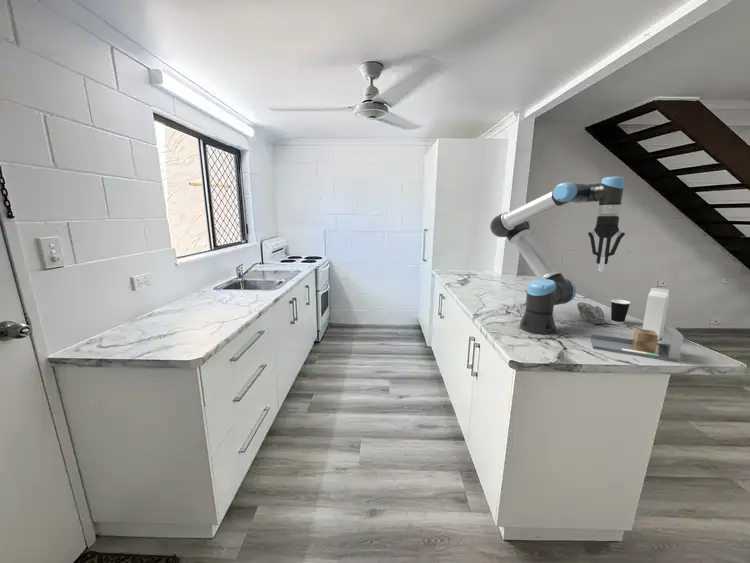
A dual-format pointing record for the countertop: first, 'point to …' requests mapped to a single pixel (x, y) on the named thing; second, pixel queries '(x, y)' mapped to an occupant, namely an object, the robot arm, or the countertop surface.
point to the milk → (656, 310)
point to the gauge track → (625, 347)
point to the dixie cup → (619, 310)
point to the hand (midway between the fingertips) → (600, 271)
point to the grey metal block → (671, 342)
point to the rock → (591, 313)
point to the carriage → (645, 340)
